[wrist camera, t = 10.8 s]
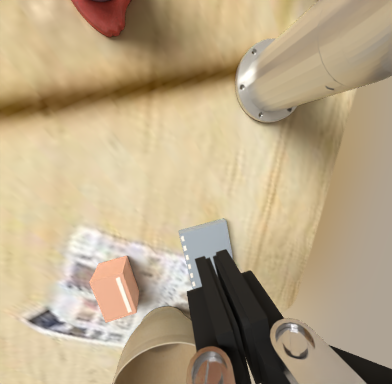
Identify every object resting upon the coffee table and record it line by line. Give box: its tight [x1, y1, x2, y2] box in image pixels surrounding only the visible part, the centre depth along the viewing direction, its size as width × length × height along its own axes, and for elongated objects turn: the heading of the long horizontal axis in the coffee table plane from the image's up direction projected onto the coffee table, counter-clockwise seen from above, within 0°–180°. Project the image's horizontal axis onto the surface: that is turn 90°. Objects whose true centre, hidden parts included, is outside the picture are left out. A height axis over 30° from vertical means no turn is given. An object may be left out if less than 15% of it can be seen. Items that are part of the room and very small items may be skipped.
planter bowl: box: [112, 306, 196, 384], centre depth 35 cm, size 16×16×11 cm
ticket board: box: [179, 218, 233, 289], centre depth 38 cm, size 9×14×2 cm, turn 12°
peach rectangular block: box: [89, 256, 139, 322], centre depth 33 cm, size 5×8×5 cm, turn 12°
